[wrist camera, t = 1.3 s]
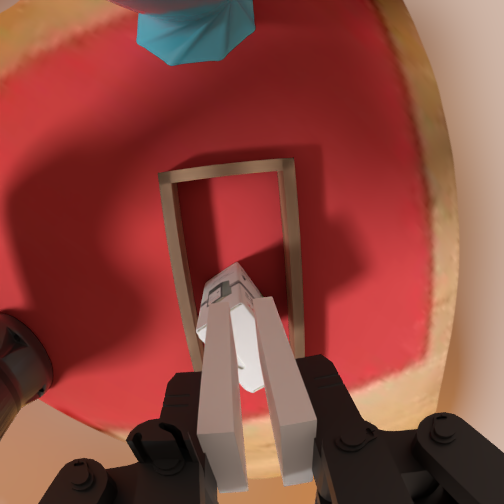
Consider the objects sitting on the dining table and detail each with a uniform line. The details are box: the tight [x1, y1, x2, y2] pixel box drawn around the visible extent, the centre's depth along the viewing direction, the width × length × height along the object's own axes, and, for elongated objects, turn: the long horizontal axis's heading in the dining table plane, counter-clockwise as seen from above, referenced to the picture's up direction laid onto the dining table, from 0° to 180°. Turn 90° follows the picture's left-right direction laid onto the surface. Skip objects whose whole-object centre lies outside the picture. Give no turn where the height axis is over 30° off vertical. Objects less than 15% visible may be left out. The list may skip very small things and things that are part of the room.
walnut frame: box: [158, 158, 305, 372], centre depth 33 cm, size 13×27×4 cm, turn 6°
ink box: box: [196, 262, 264, 393], centre depth 30 cm, size 9×5×12 cm, turn 34°
